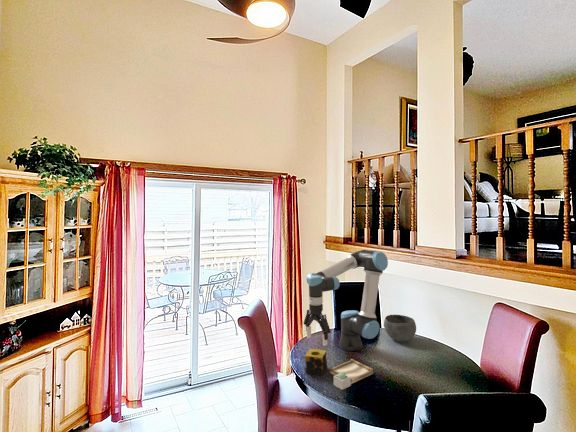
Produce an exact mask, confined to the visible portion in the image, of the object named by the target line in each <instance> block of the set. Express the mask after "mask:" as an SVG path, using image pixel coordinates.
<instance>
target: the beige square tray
mask: <svg viewBox="0 0 576 432" xmlns="http://www.w3.org/2000/svg"><path fill="white" fill-rule="evenodd" d="M328 372H329V374H331V375H333V376H335V375H337V374H339V373H345V375H347V376H349V377H350V385H353V384H355V383H357V382H359V381H361V380H363V379H366V378H367V377H369V376H371V375H373V374H374V368H373V367H370V366H367V365H365V364H363V363H362V362H359V361H357V360H355V359H353V358H350V359H349V360H348V361H346V362H343V363H341V364H338V365H336V366H334V367H329V368H328Z"/></svg>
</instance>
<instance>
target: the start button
mask: <svg viewBox="0 0 576 432" xmlns="http://www.w3.org/2000/svg"><path fill="white" fill-rule="evenodd" d="M338 378H340V379H341V380H343V379H345V373H339V374H338Z"/></svg>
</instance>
